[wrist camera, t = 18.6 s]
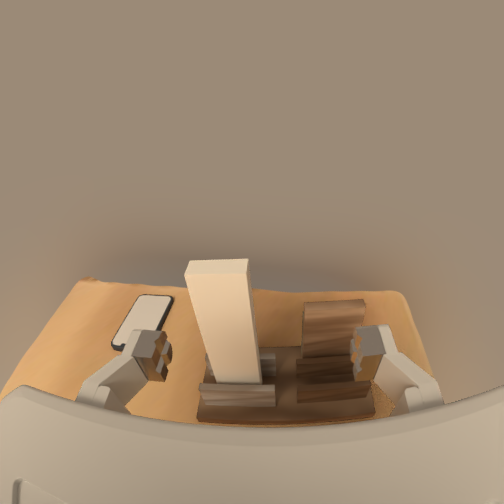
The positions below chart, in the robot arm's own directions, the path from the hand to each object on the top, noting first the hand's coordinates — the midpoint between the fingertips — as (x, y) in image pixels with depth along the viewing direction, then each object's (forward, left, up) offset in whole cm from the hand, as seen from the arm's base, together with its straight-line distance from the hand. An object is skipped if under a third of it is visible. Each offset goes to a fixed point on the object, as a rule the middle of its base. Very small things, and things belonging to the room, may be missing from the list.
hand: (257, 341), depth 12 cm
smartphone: (+30, +26, -31) cm, 50 cm away
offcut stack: (+21, -8, -29) cm, 36 cm away
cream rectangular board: (+15, +5, -29) cm, 33 cm away
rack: (+16, -1, -30) cm, 34 cm away
